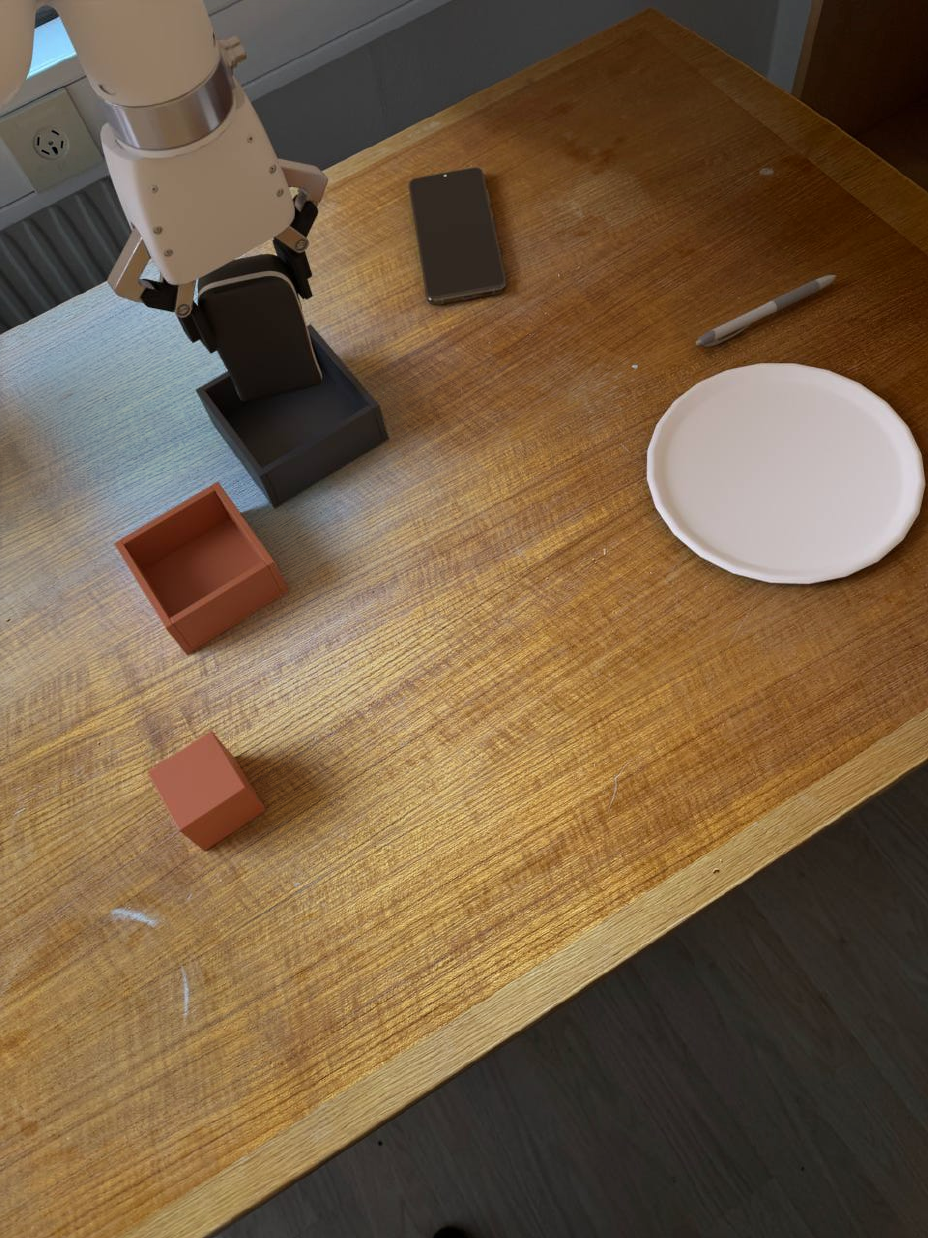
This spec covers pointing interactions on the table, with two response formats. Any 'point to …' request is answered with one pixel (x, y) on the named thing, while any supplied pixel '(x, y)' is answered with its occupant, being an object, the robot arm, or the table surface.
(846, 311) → the table surface
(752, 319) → the pen
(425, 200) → the smartphone
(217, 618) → the clay bin
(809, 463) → the plate
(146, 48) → the robot arm
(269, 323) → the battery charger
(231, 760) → the clay block
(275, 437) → the dark bin
